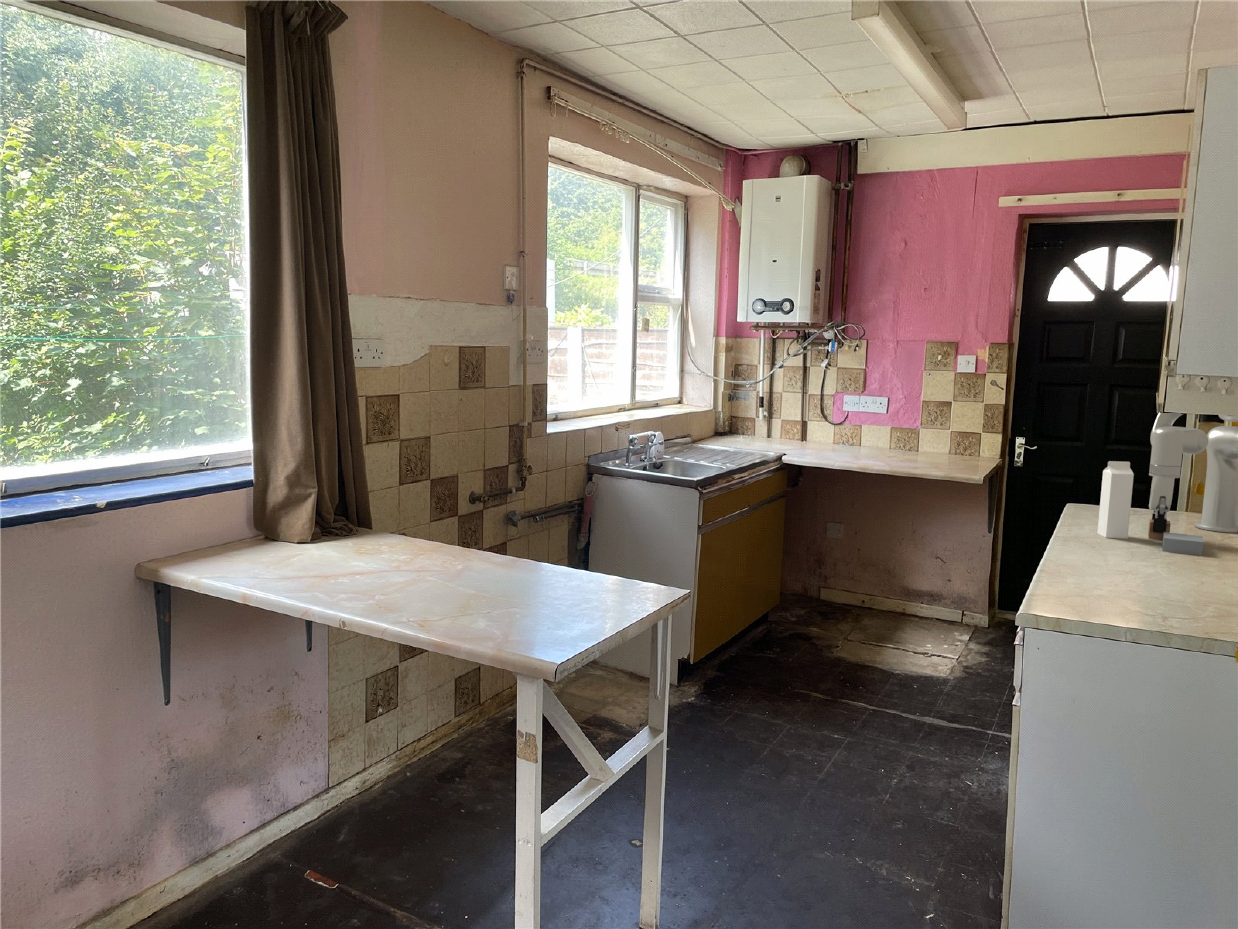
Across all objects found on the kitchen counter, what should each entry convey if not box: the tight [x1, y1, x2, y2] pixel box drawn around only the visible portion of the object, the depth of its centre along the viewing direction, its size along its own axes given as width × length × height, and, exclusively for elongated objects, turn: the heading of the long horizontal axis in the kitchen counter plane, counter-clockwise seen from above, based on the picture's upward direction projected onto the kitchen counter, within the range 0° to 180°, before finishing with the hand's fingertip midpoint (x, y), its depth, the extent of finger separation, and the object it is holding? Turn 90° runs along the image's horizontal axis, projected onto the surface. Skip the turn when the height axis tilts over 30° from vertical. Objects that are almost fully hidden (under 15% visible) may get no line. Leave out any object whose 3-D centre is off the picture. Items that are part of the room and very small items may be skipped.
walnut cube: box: [1147, 518, 1171, 541], centre depth 253 cm, size 5×5×5 cm
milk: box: [1096, 460, 1135, 540], centre depth 253 cm, size 6×6×22 cm
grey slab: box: [1162, 532, 1205, 556], centre depth 238 cm, size 9×9×4 cm
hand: (1158, 529), depth 253 cm, fingers open, 9 cm apart
